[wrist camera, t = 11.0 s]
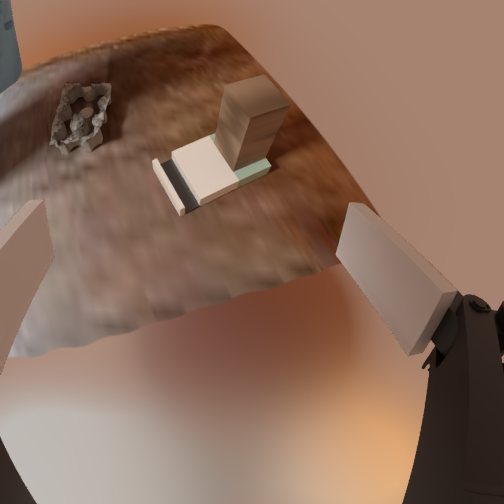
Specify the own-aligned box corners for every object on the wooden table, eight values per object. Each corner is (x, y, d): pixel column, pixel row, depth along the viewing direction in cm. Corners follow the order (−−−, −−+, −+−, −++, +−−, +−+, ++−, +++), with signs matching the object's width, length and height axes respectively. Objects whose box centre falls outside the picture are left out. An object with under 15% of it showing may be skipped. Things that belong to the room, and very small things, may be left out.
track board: (153, 169, 35) (152, 160, 33) (238, 132, 39) (240, 123, 37) (180, 216, 34) (180, 209, 33) (267, 173, 38) (271, 165, 36)
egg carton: (72, 97, 36) (65, 79, 32) (118, 94, 37) (114, 74, 34) (50, 157, 33) (40, 139, 29) (101, 155, 35) (94, 136, 31)
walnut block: (213, 143, 35) (225, 85, 26) (245, 130, 37) (264, 74, 27) (233, 172, 35) (250, 117, 25) (265, 158, 36) (290, 104, 27)
